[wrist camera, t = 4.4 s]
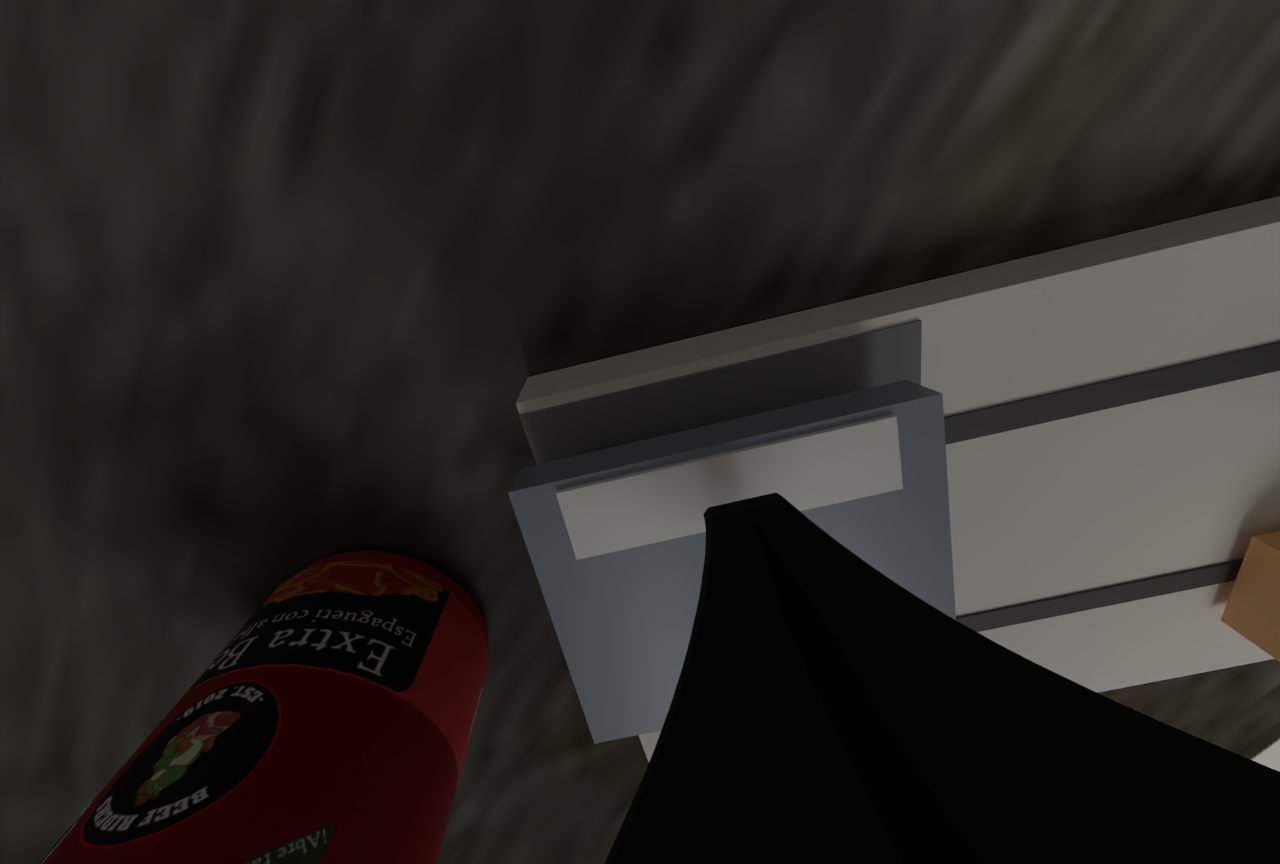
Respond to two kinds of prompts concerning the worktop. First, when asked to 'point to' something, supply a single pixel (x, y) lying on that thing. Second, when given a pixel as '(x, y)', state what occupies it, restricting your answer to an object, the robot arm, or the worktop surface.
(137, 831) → the canned food
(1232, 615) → the orange fader knob
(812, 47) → the worktop surface
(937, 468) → the rocker
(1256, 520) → the panel
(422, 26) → the worktop surface
